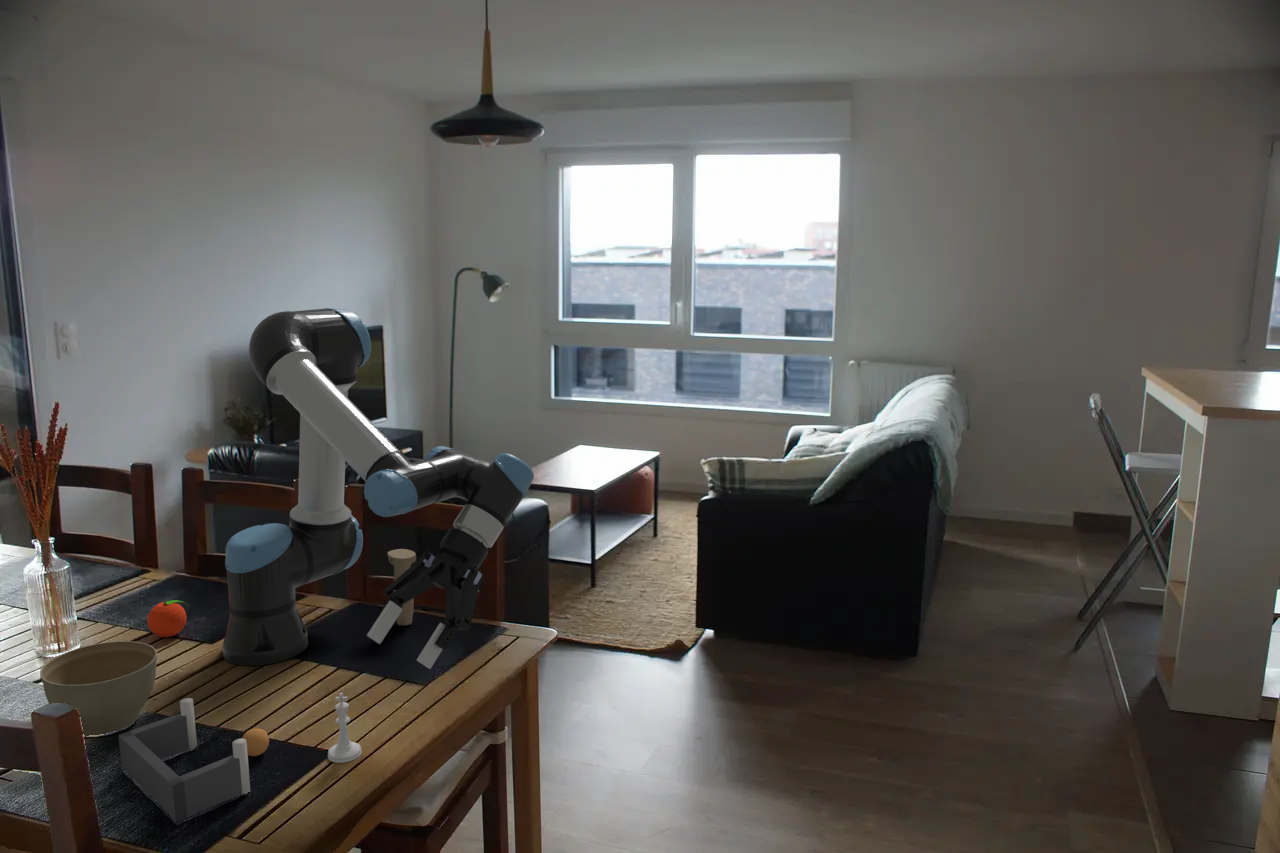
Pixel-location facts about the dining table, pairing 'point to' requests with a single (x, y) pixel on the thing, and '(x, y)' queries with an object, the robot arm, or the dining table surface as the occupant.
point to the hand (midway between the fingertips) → (397, 652)
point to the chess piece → (343, 736)
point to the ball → (256, 741)
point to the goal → (190, 789)
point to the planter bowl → (102, 683)
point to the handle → (401, 564)
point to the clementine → (167, 618)
